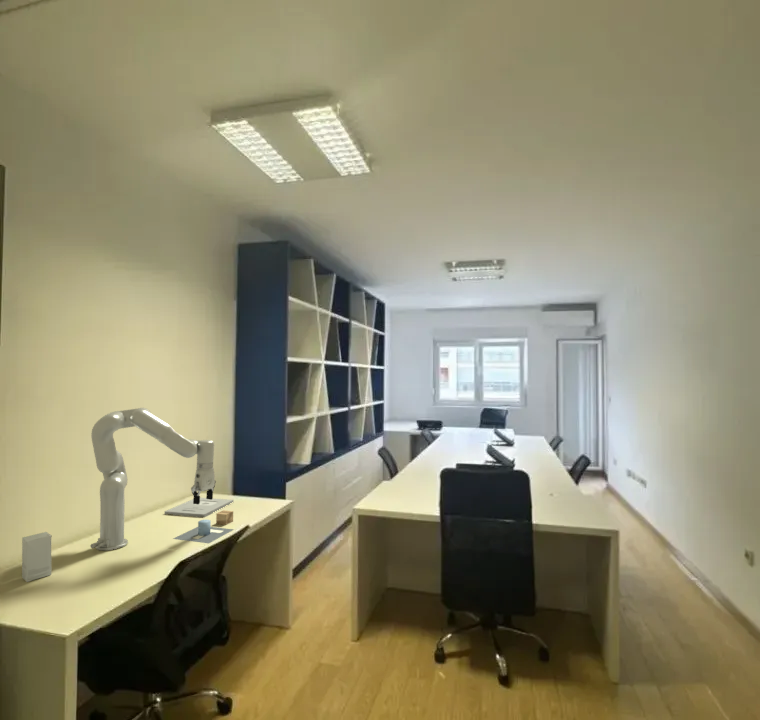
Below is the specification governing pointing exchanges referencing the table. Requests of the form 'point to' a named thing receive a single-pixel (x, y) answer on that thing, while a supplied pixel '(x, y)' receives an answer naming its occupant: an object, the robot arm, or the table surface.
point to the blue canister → (204, 527)
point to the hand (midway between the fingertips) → (203, 501)
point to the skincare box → (36, 556)
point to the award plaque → (199, 507)
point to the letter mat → (194, 536)
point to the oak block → (224, 517)
